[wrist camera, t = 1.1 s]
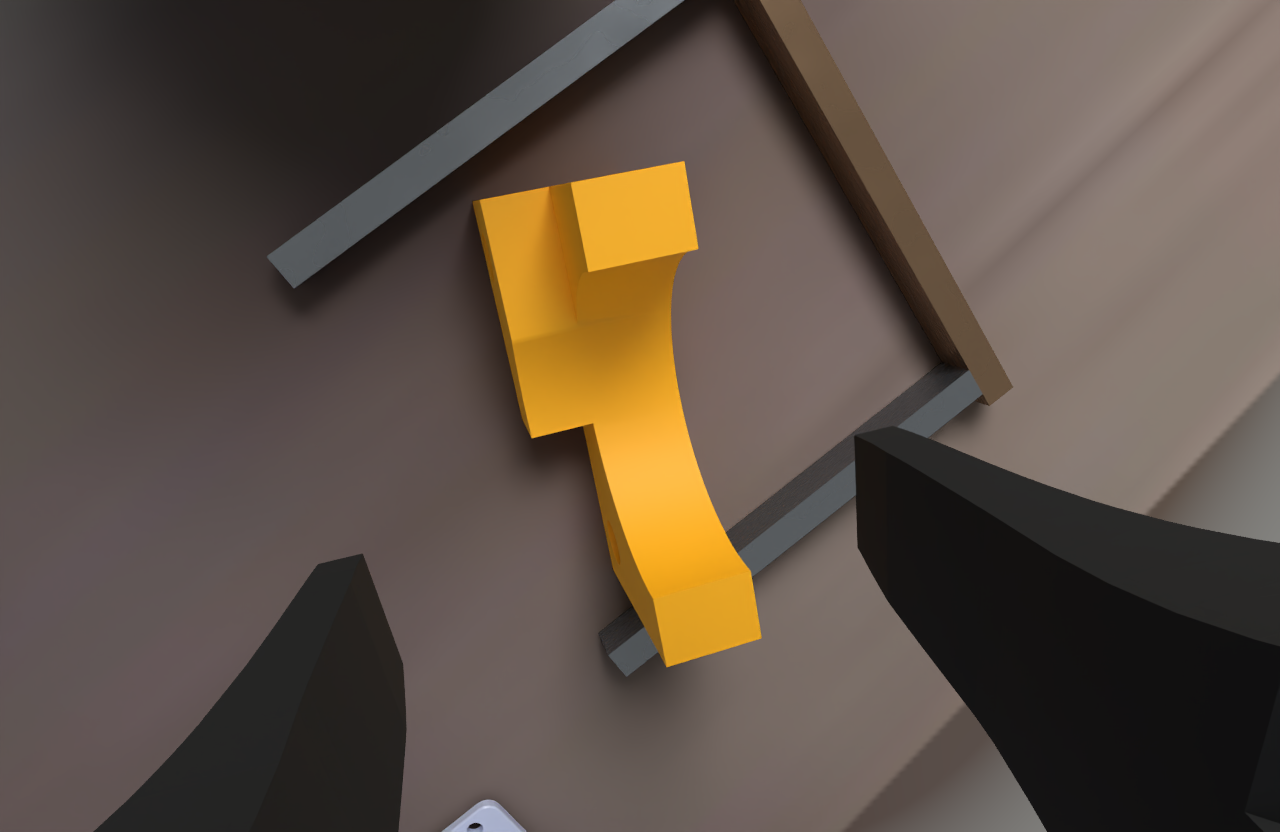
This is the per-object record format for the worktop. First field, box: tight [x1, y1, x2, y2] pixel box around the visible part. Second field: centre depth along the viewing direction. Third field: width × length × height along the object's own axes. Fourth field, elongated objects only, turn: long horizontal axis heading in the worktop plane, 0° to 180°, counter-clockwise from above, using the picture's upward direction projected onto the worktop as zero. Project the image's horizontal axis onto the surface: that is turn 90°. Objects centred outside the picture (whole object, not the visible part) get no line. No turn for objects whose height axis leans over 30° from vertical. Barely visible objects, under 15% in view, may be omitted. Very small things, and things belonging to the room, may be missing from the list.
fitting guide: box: [267, 0, 1013, 677], centre depth 26 cm, size 16×17×2 cm
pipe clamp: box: [472, 161, 762, 667], centre depth 23 cm, size 12×4×6 cm, turn 11°
